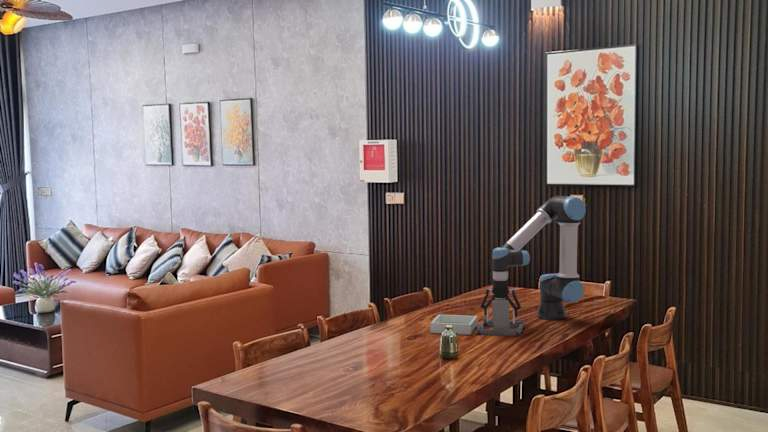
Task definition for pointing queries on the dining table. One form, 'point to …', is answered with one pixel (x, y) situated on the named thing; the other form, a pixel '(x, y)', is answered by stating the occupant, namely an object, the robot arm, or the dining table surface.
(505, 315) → the skincare box
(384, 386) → the dining table surface
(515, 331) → the frame
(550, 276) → the robot arm
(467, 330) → the bin
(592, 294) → the dining table surface
